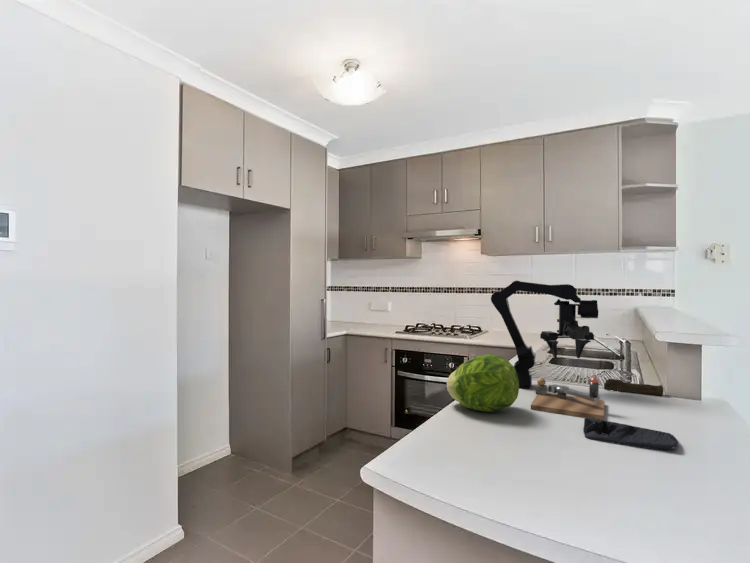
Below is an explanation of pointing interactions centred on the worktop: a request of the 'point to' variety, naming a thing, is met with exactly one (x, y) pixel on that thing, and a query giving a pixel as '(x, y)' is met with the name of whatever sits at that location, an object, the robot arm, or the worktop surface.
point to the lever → (592, 391)
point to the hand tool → (633, 387)
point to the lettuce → (484, 383)
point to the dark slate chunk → (628, 434)
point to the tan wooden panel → (566, 403)
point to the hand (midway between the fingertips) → (566, 358)
